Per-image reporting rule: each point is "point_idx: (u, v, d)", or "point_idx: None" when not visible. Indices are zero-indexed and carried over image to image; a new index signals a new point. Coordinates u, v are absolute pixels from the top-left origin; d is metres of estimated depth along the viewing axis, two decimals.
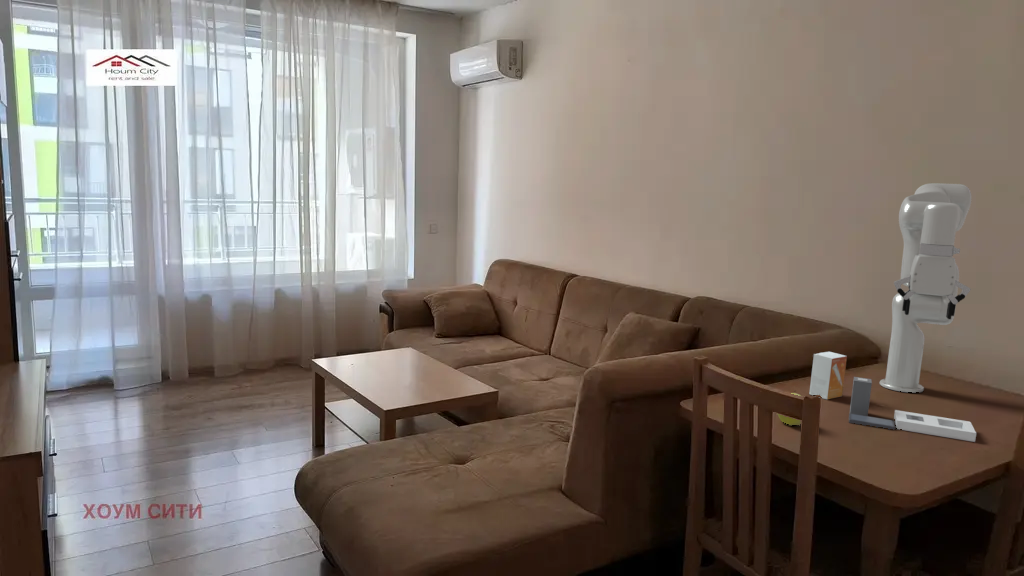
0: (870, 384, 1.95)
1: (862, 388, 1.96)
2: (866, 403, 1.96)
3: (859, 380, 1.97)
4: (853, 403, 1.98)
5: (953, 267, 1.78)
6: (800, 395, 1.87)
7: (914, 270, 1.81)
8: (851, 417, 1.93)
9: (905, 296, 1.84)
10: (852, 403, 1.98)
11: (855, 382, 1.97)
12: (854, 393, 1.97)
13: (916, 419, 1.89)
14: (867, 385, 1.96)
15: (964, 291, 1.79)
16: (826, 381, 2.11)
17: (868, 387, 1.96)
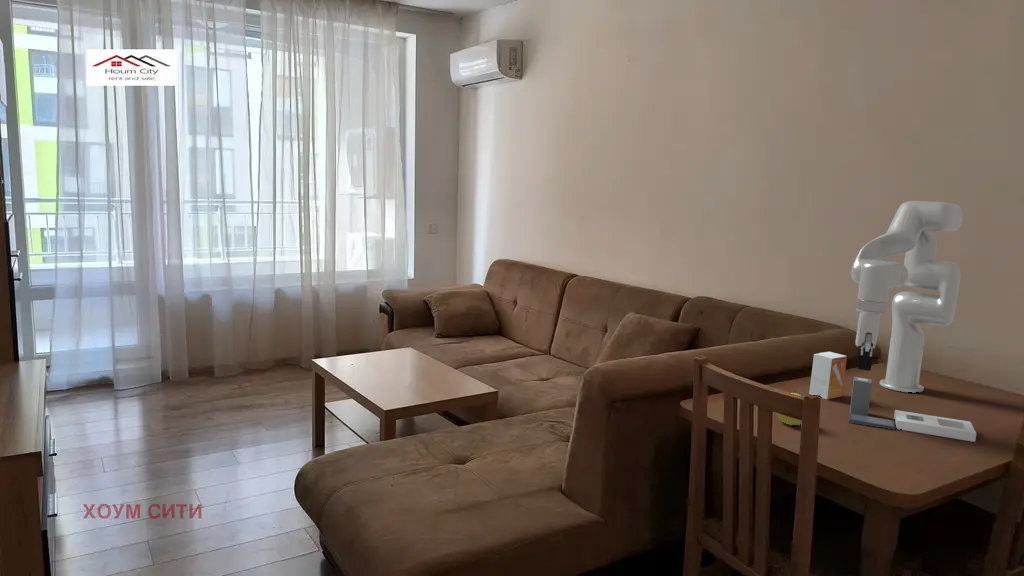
0: (870, 384, 1.95)
1: (862, 388, 1.96)
2: (866, 403, 1.96)
3: (859, 380, 1.97)
4: (853, 403, 1.98)
5: None
6: (800, 395, 1.87)
7: (877, 328, 1.91)
8: (851, 417, 1.93)
9: None
10: (852, 403, 1.98)
11: (855, 382, 1.97)
12: (854, 393, 1.97)
13: (916, 419, 1.89)
14: (867, 385, 1.96)
15: None
16: (826, 381, 2.11)
17: (868, 387, 1.96)
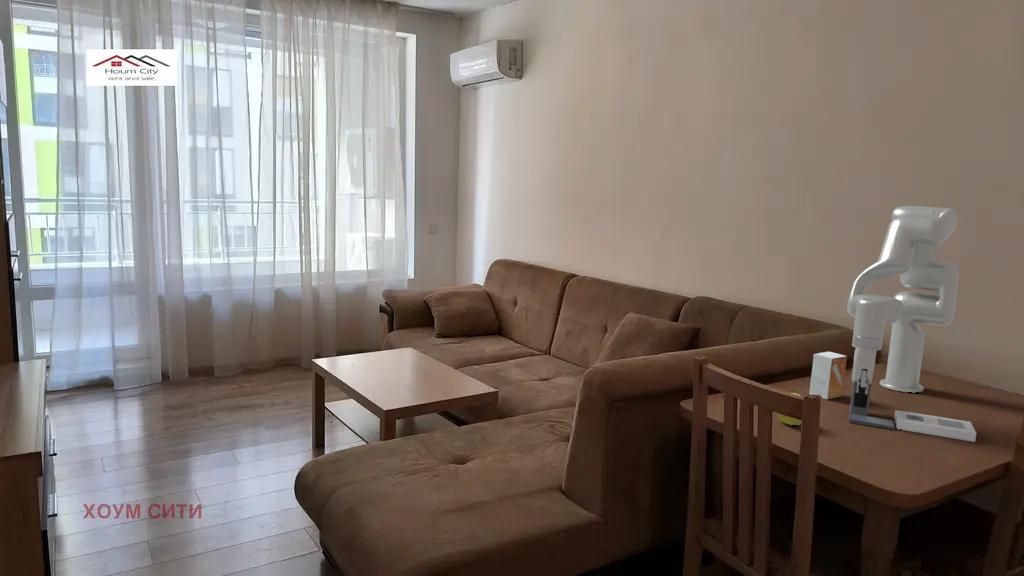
0: (870, 384, 1.95)
1: None
2: None
3: (859, 380, 1.97)
4: (853, 403, 1.98)
5: None
6: (800, 395, 1.87)
7: (873, 364, 1.92)
8: (851, 417, 1.93)
9: (866, 392, 1.95)
10: (852, 403, 1.98)
11: (855, 382, 1.97)
12: (854, 393, 1.97)
13: (916, 419, 1.89)
14: None
15: None
16: (826, 381, 2.11)
17: (868, 387, 1.96)
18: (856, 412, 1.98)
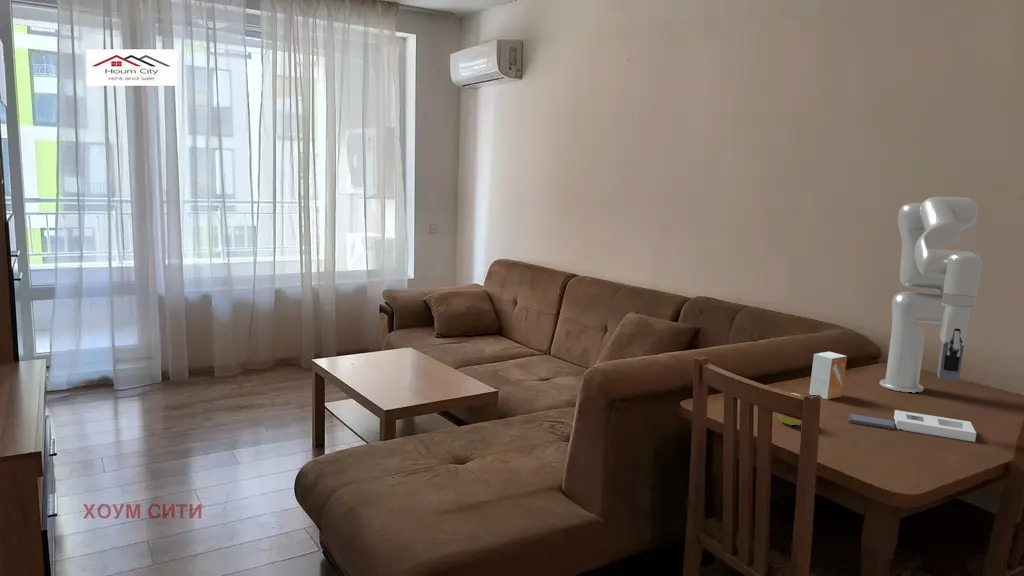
0: (962, 346, 1.81)
1: None
2: None
3: None
4: (943, 366, 1.84)
5: None
6: (800, 395, 1.87)
7: (966, 324, 1.79)
8: (851, 417, 1.93)
9: None
10: (941, 367, 1.84)
11: (945, 344, 1.83)
12: (943, 355, 1.84)
13: (916, 419, 1.89)
14: None
15: None
16: (826, 381, 2.11)
17: (960, 349, 1.82)
18: (946, 376, 1.84)
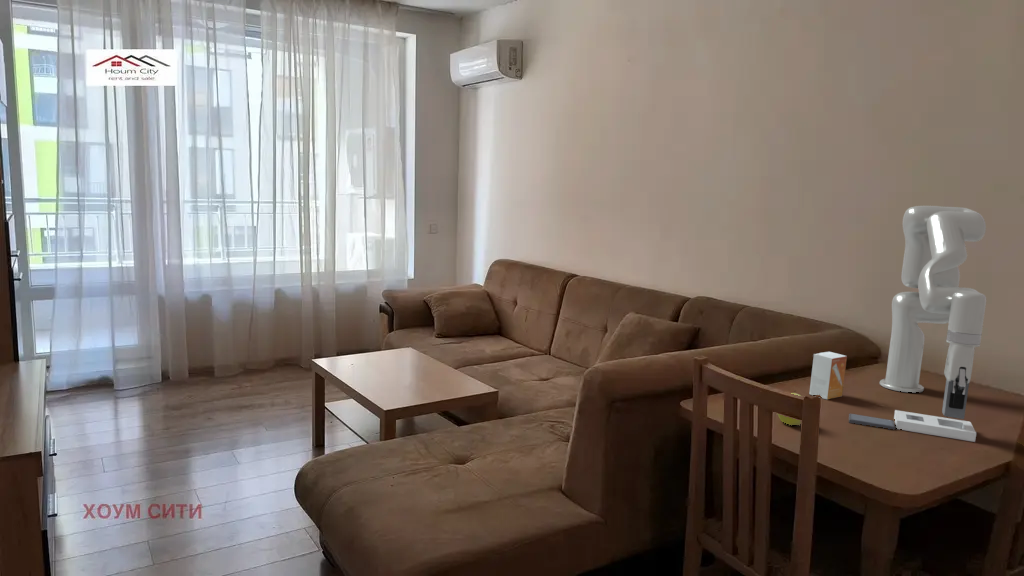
0: None
1: None
2: None
3: None
4: (948, 404, 1.84)
5: None
6: (800, 395, 1.87)
7: (972, 362, 1.79)
8: (851, 417, 1.93)
9: None
10: (947, 404, 1.84)
11: None
12: (949, 393, 1.84)
13: (916, 419, 1.89)
14: None
15: None
16: (826, 381, 2.11)
17: None
18: (951, 414, 1.84)
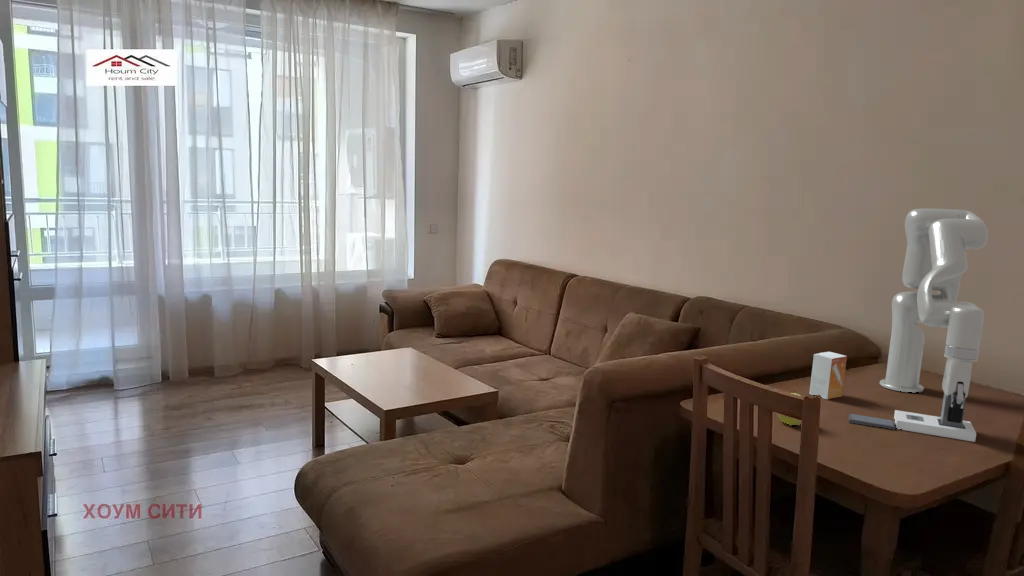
0: (964, 401, 1.83)
1: None
2: None
3: None
4: (945, 421, 1.85)
5: None
6: (800, 395, 1.87)
7: (969, 377, 1.79)
8: (851, 417, 1.93)
9: (962, 406, 1.81)
10: (943, 421, 1.85)
11: (947, 399, 1.84)
12: (945, 410, 1.85)
13: (916, 419, 1.89)
14: None
15: None
16: (826, 381, 2.11)
17: None
18: None
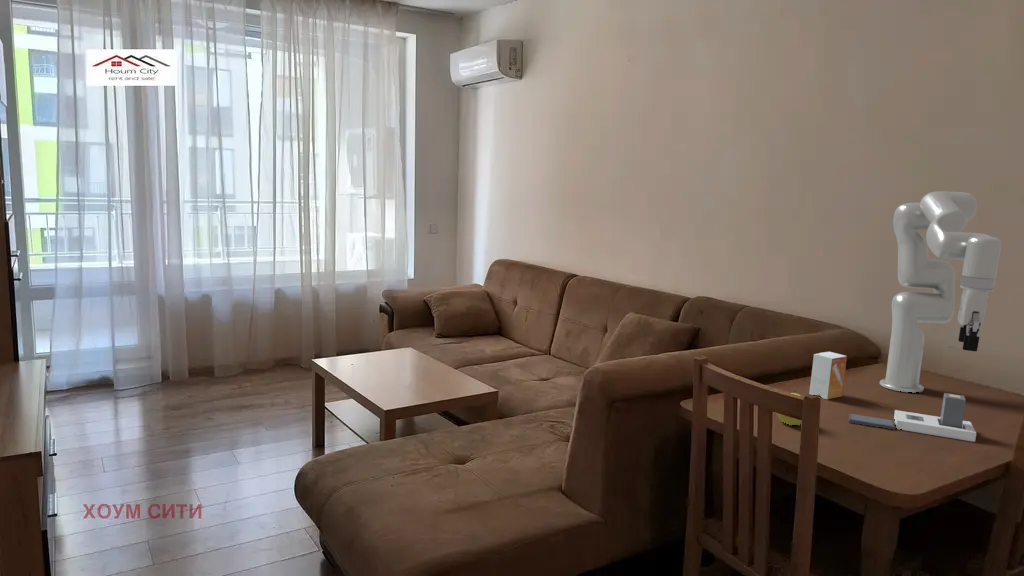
0: (964, 401, 1.83)
1: (955, 405, 1.84)
2: (959, 421, 1.84)
3: (951, 397, 1.85)
4: (945, 421, 1.85)
5: None
6: (800, 395, 1.87)
7: (985, 306, 1.80)
8: (851, 417, 1.93)
9: (978, 333, 1.80)
10: (943, 421, 1.85)
11: (947, 399, 1.84)
12: (945, 410, 1.85)
13: (916, 419, 1.89)
14: (960, 402, 1.83)
15: None
16: (826, 381, 2.11)
17: (962, 404, 1.83)
18: None
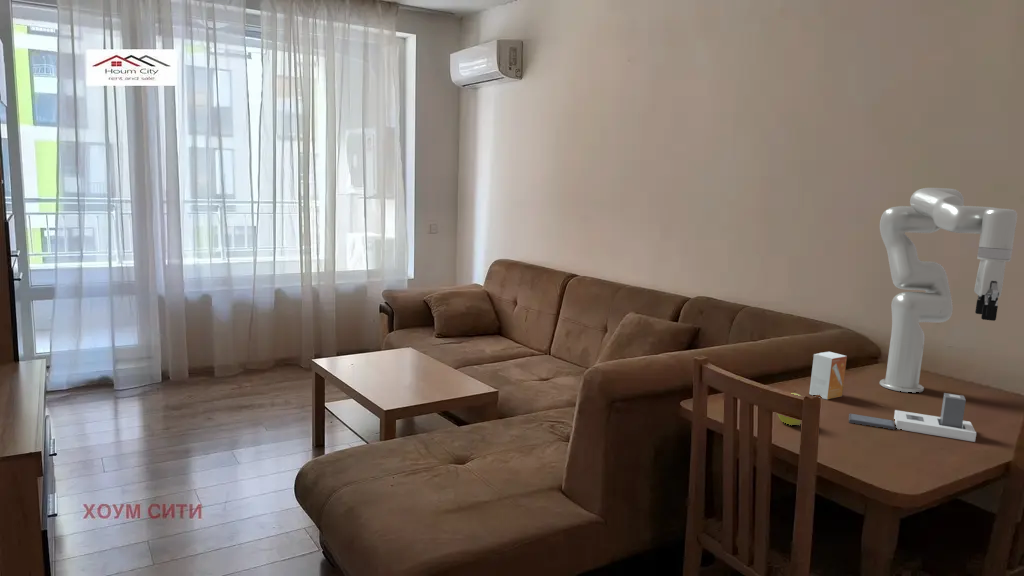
0: (964, 401, 1.83)
1: (955, 405, 1.84)
2: (959, 421, 1.84)
3: (951, 397, 1.85)
4: (945, 421, 1.85)
5: None
6: (800, 395, 1.87)
7: (1003, 276, 1.84)
8: (851, 417, 1.93)
9: None
10: (943, 421, 1.85)
11: (947, 399, 1.84)
12: (945, 410, 1.85)
13: (916, 419, 1.89)
14: (960, 402, 1.83)
15: None
16: (826, 381, 2.11)
17: (962, 404, 1.83)
18: None
